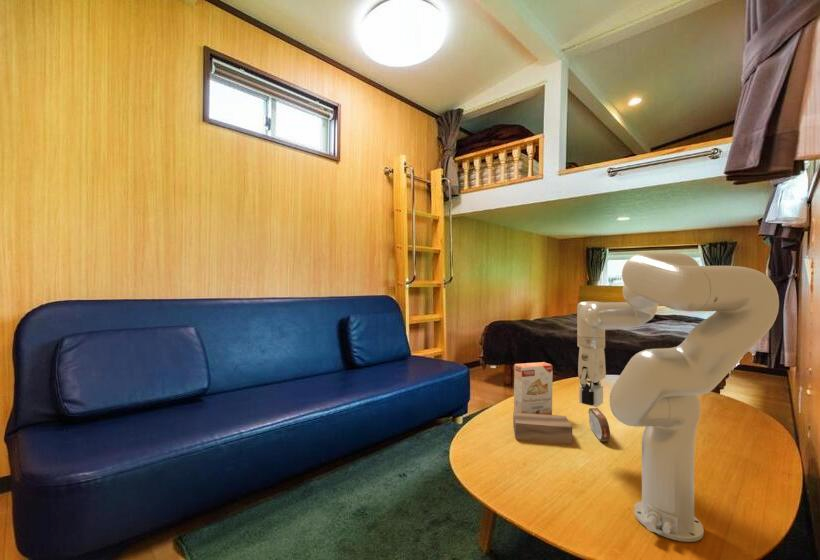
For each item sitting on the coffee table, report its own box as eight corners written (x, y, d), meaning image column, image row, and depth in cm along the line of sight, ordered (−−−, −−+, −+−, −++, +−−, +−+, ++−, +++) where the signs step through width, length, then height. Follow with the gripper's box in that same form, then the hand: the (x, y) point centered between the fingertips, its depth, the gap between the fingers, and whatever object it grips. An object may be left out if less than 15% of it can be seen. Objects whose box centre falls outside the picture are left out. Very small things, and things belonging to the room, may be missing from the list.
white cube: (597, 407, 104) (597, 390, 104) (579, 403, 108) (579, 386, 108) (602, 403, 108) (602, 386, 108) (585, 399, 111) (585, 383, 111)
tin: (611, 446, 115) (611, 420, 115) (600, 445, 116) (600, 419, 116) (596, 427, 130) (596, 404, 130) (587, 426, 131) (587, 404, 131)
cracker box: (522, 421, 136) (521, 367, 135) (513, 415, 141) (513, 363, 141) (553, 417, 139) (553, 364, 139) (543, 412, 145) (543, 361, 145)
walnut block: (572, 445, 117) (572, 427, 117) (515, 440, 120) (515, 422, 120) (565, 432, 126) (565, 416, 126) (513, 428, 130) (513, 412, 130)
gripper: (594, 347, 99) (594, 412, 99) (613, 340, 111) (613, 398, 111) (566, 344, 105) (567, 405, 105) (588, 337, 116) (588, 392, 116)
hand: (591, 401), depth 108 cm, fingers closed on white cube, 5 cm apart
